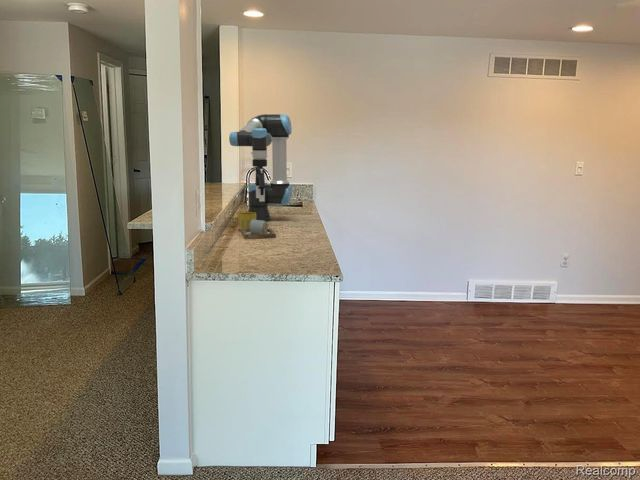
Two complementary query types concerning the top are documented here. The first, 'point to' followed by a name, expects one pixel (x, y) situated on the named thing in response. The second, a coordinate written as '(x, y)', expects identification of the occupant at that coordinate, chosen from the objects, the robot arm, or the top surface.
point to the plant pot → (245, 219)
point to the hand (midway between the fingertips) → (260, 199)
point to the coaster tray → (248, 235)
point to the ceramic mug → (258, 227)
